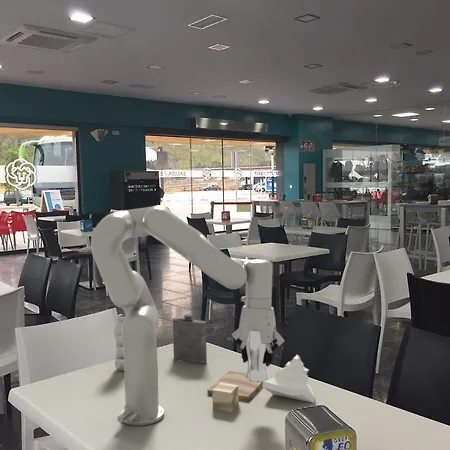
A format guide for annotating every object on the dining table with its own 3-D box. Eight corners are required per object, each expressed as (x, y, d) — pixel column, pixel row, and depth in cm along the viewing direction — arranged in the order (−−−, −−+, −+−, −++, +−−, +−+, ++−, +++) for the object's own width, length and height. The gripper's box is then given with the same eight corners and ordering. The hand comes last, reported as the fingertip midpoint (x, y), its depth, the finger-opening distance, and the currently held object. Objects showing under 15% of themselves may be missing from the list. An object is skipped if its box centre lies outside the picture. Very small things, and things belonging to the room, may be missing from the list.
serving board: (248, 401, 160) (248, 396, 160) (207, 394, 165) (207, 389, 165) (267, 380, 176) (267, 376, 176) (229, 375, 182) (229, 370, 182)
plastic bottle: (111, 372, 186) (109, 317, 185) (120, 365, 193) (118, 313, 191) (127, 373, 184) (125, 318, 183) (136, 367, 191) (134, 314, 189)
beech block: (231, 412, 152) (230, 392, 152) (212, 409, 155) (212, 389, 154) (238, 404, 158) (238, 385, 157) (220, 401, 160) (220, 382, 160)
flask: (203, 365, 192) (202, 317, 191) (171, 359, 199) (169, 313, 197) (208, 362, 195) (207, 315, 194) (176, 356, 202) (175, 311, 201)
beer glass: (269, 383, 147) (270, 331, 146) (245, 382, 148) (246, 331, 146) (267, 374, 154) (269, 325, 153) (244, 373, 155) (245, 324, 153)
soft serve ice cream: (276, 391, 171) (284, 348, 172) (319, 404, 163) (327, 359, 165) (260, 395, 160) (268, 349, 162) (305, 409, 153) (314, 361, 154)
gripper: (225, 302, 149) (224, 362, 151) (283, 308, 142) (281, 372, 144) (235, 297, 156) (234, 355, 157) (291, 303, 149) (289, 363, 151)
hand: (257, 362), depth 151 cm, fingers closed on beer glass, 6 cm apart
